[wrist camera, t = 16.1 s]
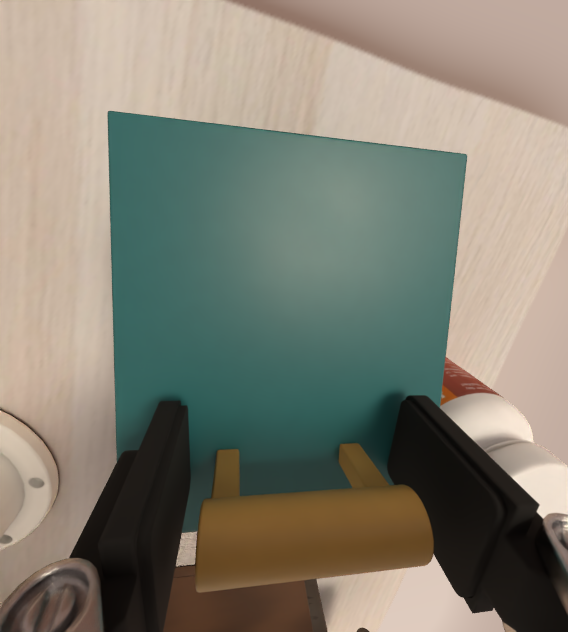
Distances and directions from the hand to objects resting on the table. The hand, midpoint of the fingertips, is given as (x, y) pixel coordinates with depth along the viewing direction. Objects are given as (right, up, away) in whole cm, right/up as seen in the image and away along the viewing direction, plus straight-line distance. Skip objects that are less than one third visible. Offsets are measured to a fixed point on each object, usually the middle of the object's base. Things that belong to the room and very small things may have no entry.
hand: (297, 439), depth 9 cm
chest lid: (0, +3, +1) cm, 3 cm away
